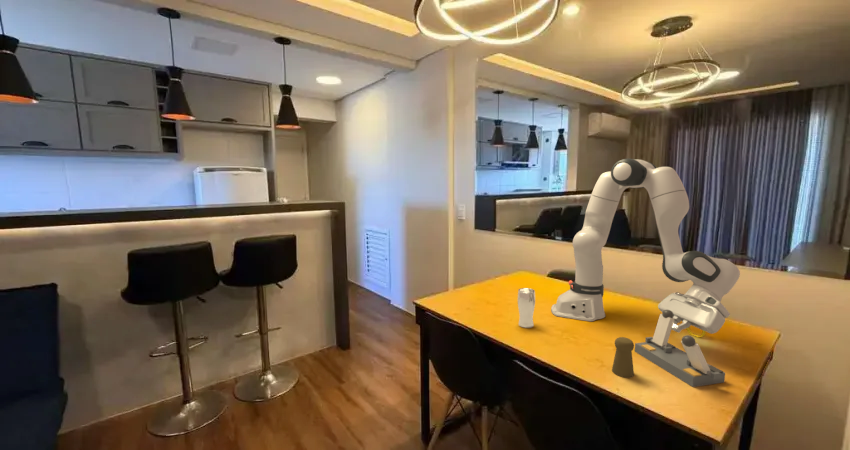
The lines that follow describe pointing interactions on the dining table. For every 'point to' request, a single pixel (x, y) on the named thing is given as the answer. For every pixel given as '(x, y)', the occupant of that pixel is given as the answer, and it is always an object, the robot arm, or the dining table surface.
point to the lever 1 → (663, 329)
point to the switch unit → (678, 364)
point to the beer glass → (526, 307)
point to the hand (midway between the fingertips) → (673, 330)
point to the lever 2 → (695, 354)
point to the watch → (694, 334)
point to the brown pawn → (623, 358)
